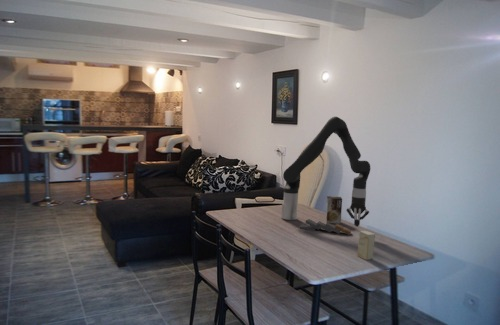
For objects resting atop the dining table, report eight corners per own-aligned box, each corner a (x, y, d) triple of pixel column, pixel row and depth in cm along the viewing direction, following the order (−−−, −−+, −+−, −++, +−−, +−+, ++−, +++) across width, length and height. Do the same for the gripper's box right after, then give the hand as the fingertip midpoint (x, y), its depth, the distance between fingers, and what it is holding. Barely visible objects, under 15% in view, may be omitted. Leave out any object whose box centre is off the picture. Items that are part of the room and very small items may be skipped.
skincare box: (356, 255, 184) (358, 230, 183) (364, 254, 186) (366, 230, 185) (366, 260, 179) (368, 234, 177) (373, 259, 181) (375, 233, 179)
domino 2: (318, 229, 225) (305, 222, 229) (321, 228, 229) (308, 221, 233) (319, 227, 224) (306, 220, 228) (322, 225, 229) (309, 219, 233)
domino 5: (349, 235, 218) (334, 228, 220) (349, 232, 223) (335, 226, 225) (350, 232, 218) (335, 225, 220) (351, 230, 223) (336, 223, 225)
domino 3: (330, 232, 222) (316, 225, 225) (332, 230, 226) (318, 223, 229) (331, 230, 221) (317, 222, 224) (333, 228, 226) (319, 221, 229)
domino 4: (339, 234, 220) (324, 226, 222) (340, 231, 224) (326, 224, 227) (340, 231, 219) (326, 224, 222) (341, 229, 224) (327, 222, 227)
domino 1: (314, 231, 225) (299, 229, 228) (316, 229, 230) (301, 227, 233) (314, 228, 225) (299, 226, 228) (316, 226, 230) (301, 224, 233)
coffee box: (339, 221, 249) (341, 196, 248) (340, 223, 243) (342, 198, 241) (325, 220, 250) (326, 195, 249) (326, 222, 244) (327, 197, 242)
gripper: (371, 196, 218) (369, 226, 220) (347, 193, 223) (345, 223, 225) (370, 198, 211) (368, 229, 213) (346, 195, 216) (344, 226, 218)
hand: (356, 226), depth 219 cm, fingers closed
